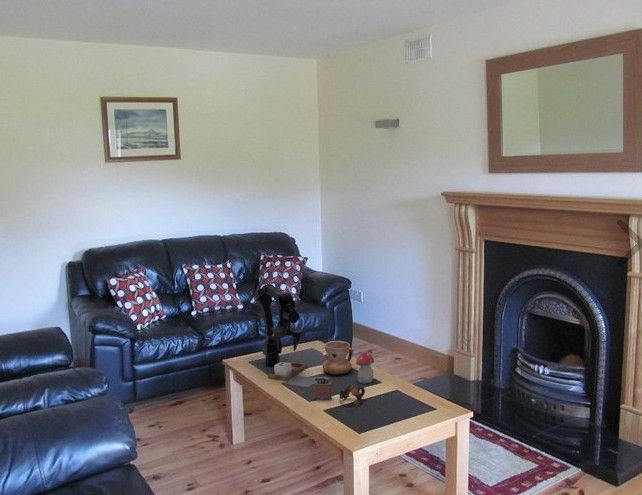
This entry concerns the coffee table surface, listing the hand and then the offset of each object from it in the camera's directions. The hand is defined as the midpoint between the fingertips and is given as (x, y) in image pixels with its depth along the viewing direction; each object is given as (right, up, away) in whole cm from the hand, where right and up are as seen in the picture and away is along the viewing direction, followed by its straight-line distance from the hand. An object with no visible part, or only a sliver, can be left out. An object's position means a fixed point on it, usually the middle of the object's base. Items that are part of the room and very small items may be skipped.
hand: (286, 350), depth 294 cm
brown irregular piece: (+31, -17, -33) cm, 49 cm away
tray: (+1, -12, +4) cm, 13 cm away
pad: (+8, -14, -8) cm, 18 cm away
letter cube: (-1, -13, -1) cm, 13 cm away
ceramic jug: (+26, -12, +5) cm, 29 cm away
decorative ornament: (+38, -13, -9) cm, 41 cm away
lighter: (+18, -17, -29) cm, 38 cm away
